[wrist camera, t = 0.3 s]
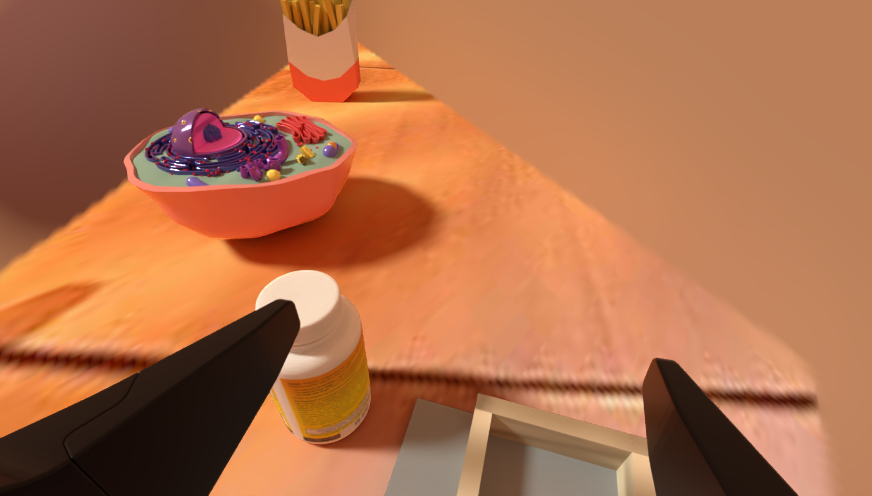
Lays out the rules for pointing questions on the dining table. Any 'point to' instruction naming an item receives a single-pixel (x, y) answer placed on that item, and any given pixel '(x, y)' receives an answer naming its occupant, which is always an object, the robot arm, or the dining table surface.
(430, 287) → the dining table surface
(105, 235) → the dining table surface
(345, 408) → the supplement bottle
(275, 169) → the cell model
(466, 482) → the end holder
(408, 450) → the board
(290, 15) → the french fries container
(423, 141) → the dining table surface
